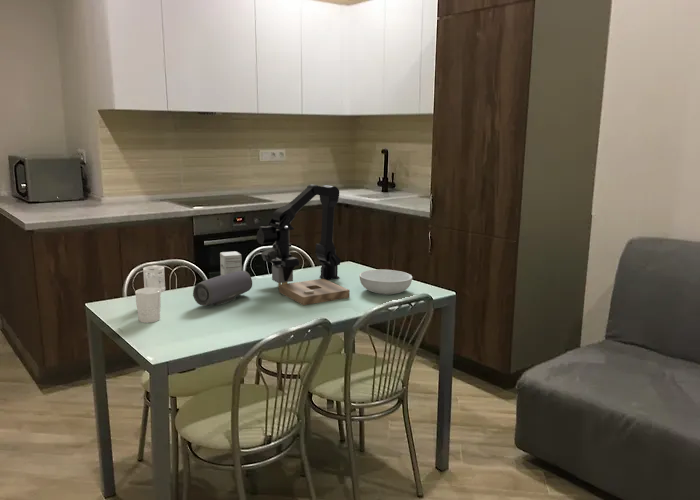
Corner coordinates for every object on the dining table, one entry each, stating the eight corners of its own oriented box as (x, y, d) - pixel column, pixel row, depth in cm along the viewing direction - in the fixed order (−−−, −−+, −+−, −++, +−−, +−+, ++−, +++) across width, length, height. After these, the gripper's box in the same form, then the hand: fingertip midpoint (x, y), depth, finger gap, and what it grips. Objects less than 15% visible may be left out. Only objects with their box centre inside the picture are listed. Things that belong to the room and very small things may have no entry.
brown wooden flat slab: (323, 285, 241) (323, 276, 241) (349, 297, 225) (349, 287, 224) (279, 292, 231) (278, 282, 230) (303, 305, 214) (303, 295, 214)
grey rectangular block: (286, 283, 243) (286, 263, 242) (292, 287, 238) (292, 266, 237) (272, 285, 240) (271, 265, 238) (278, 289, 235) (278, 268, 233)
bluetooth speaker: (235, 292, 230) (234, 267, 228) (253, 296, 225) (253, 270, 223) (192, 306, 211) (191, 279, 209) (211, 311, 206) (210, 283, 204)
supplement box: (220, 281, 245) (219, 252, 242) (238, 280, 248) (237, 250, 245) (224, 286, 238) (223, 255, 236) (242, 284, 241) (241, 254, 239)
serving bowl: (408, 301, 222) (409, 283, 221) (354, 297, 226) (354, 279, 225) (414, 287, 242) (414, 270, 241) (364, 283, 246) (364, 267, 245)
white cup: (153, 314, 201) (151, 286, 199) (166, 319, 196) (165, 290, 194) (132, 320, 195) (130, 290, 193) (145, 325, 190) (143, 295, 188)
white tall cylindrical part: (147, 309, 207) (145, 267, 203) (143, 304, 212) (141, 263, 209) (168, 306, 210) (166, 265, 207) (163, 301, 216) (161, 261, 213)
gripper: (254, 239, 239) (254, 276, 242) (274, 247, 224) (274, 287, 227) (278, 237, 245) (279, 273, 248) (300, 244, 229) (300, 283, 233)
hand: (282, 279), depth 239 cm, fingers closed on grey rectangular block, 6 cm apart
